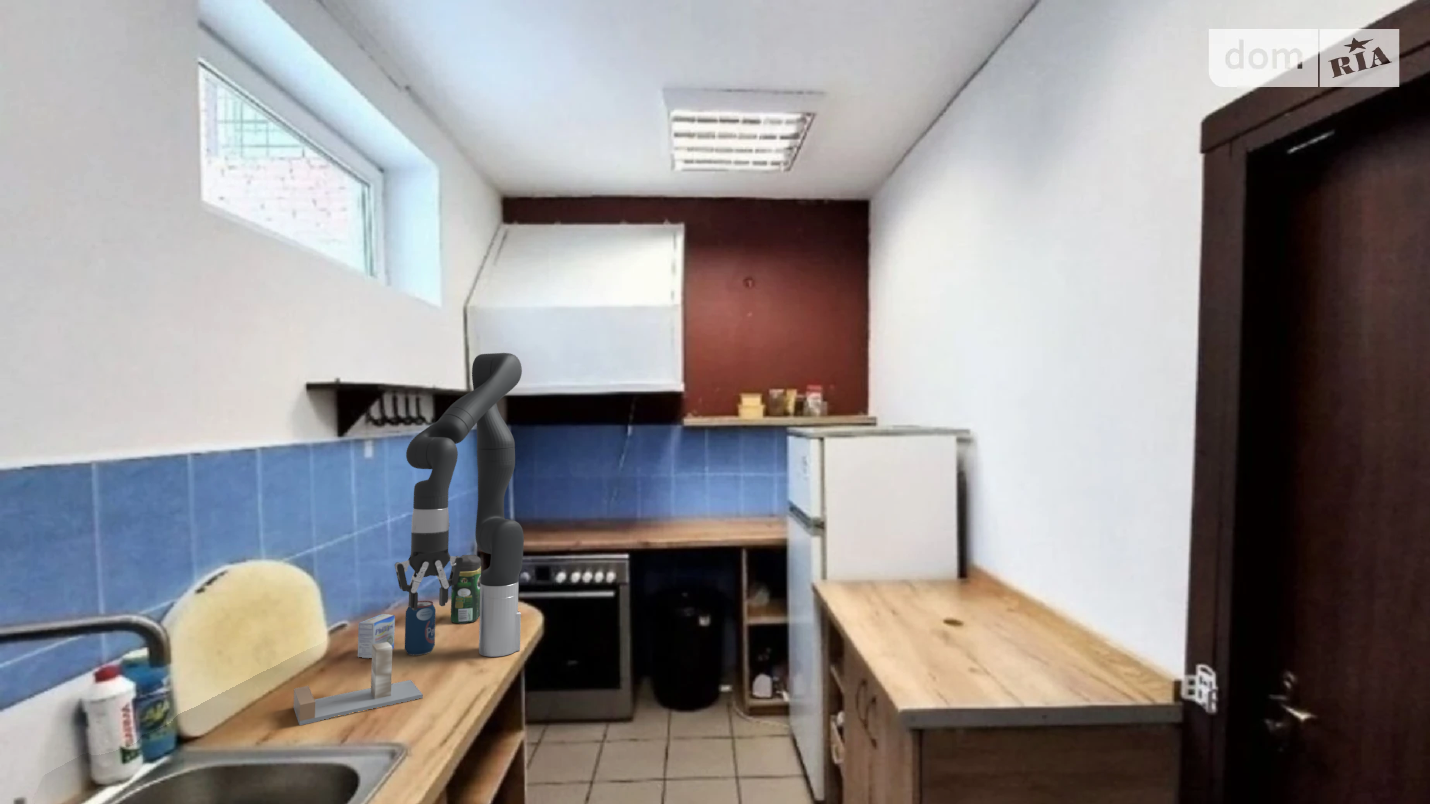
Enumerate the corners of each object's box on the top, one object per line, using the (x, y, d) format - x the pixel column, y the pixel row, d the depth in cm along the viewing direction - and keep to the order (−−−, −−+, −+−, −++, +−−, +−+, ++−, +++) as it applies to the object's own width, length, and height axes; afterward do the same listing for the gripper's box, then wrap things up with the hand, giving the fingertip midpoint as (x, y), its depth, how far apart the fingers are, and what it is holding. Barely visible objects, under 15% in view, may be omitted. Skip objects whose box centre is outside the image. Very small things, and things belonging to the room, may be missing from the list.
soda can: (433, 654, 168) (434, 605, 168) (403, 657, 166) (404, 608, 166) (435, 646, 174) (436, 599, 175) (405, 648, 172) (407, 601, 173)
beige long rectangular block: (386, 689, 143) (387, 641, 144) (390, 695, 140) (392, 646, 141) (370, 692, 142) (372, 644, 142) (375, 699, 138) (376, 649, 139)
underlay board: (410, 683, 149) (411, 665, 149) (422, 698, 141) (423, 679, 141) (293, 707, 136) (294, 688, 136) (299, 725, 128) (300, 704, 128)
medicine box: (372, 659, 164) (374, 623, 165) (356, 658, 165) (357, 622, 165) (394, 649, 172) (395, 614, 172) (379, 647, 173) (380, 613, 173)
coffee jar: (454, 615, 203) (456, 553, 203) (482, 614, 204) (483, 552, 205) (447, 625, 193) (448, 559, 194) (476, 624, 194) (477, 558, 195)
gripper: (458, 524, 155) (457, 599, 154) (390, 529, 146) (388, 608, 146) (469, 528, 149) (467, 606, 148) (398, 533, 140) (396, 616, 140)
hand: (428, 607), depth 147 cm, fingers open, 5 cm apart
